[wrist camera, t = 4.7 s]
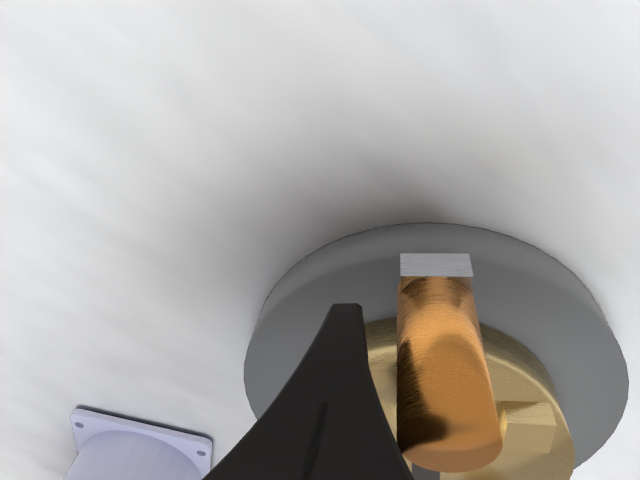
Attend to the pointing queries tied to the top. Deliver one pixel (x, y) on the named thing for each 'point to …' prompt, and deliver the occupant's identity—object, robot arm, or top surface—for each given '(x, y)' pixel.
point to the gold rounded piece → (462, 384)
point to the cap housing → (491, 306)
